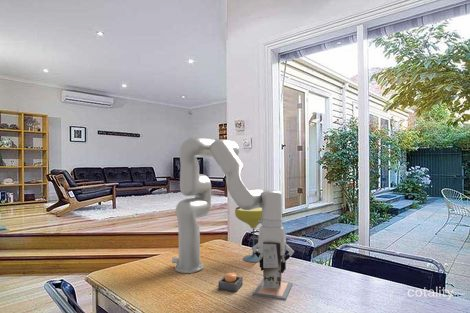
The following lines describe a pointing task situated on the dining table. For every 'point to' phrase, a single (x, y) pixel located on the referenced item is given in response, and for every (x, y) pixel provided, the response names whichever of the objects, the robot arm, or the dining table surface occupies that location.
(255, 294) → the picture board
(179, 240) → the robot arm
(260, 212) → the cocktail glass
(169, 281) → the dining table surface
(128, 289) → the dining table surface
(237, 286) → the button housing
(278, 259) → the coffee box
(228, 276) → the button
